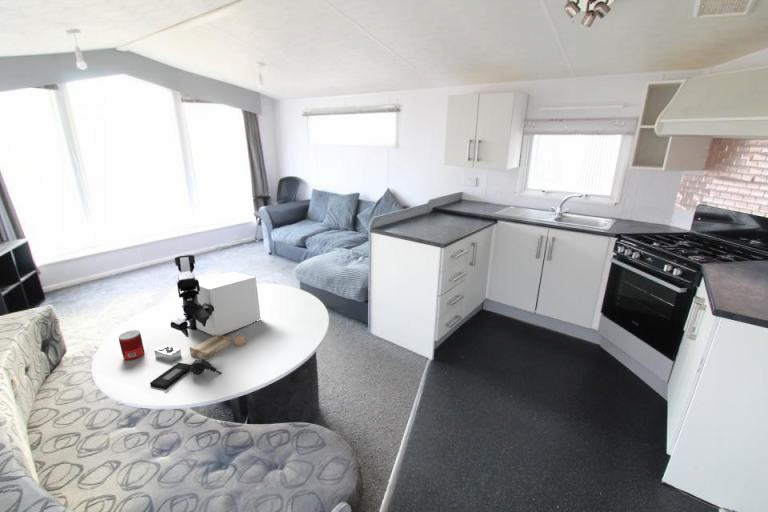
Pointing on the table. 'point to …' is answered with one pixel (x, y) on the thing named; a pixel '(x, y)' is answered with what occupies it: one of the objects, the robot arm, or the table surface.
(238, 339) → the peach cylinder
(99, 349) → the table surface
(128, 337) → the canned food
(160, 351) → the housing
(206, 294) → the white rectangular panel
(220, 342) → the stand
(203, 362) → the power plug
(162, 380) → the vhs tape
